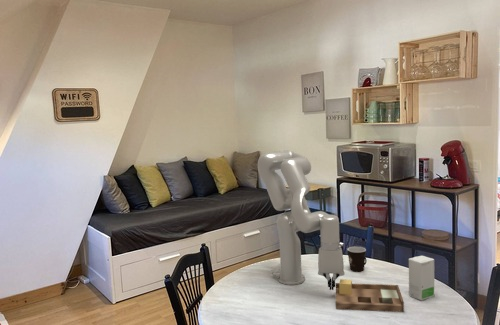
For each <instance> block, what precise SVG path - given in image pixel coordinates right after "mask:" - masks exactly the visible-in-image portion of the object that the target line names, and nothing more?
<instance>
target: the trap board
mask: <svg viewBox="0 0 500 325" xmlns="http://www.w3.org/2000/svg"><path fill="white" fill-rule="evenodd" d="M404 304H405V301H404V298H403V295H402V291H401V290H400V286H399V284H382V283H381V284H373V283H352V292H351V295H345V294H339V282H335V309H336V310H346V311H347V310H349V311H351V310H352V311H373V312H392V313H393V312H394V313H396V312H397V313H404V312H405V311H404V310H405V309H404V308H405V305H404Z"/></svg>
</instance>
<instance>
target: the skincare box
mask: <svg viewBox="0 0 500 325" xmlns="http://www.w3.org/2000/svg"><path fill="white" fill-rule="evenodd" d="M408 296H410V297H411V298H414V299H416V300H419V301H425V300H427V299H430V298H435V259H434V258H432V257H429V256H425V255H419V256H414V257H411V258H408Z"/></svg>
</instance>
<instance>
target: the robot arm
mask: <svg viewBox="0 0 500 325" xmlns="http://www.w3.org/2000/svg"><path fill="white" fill-rule="evenodd" d="M277 170H280V172H281V173H282V176H283V178H284V179H285V182H284V179H283V178H282V176H281V175H280V174H278V172H276V171H277ZM257 171H258V174H259V176H260V178H261V180H262V182H263V183H264V185H265V187H266V190H267V193H268V196H269V199H270V202H271V204H272V206H273V208H274V209H275V210H276V211H277V212H282V211H286V212H283V213H281V214H279V215H278V216H277V219H276V222H275V223H276V229H277V233H278V240H279V243H278V244H279V259H280V260H279V261H280V264H279V265H280V269H278V270H277V269H271V272H270V273H271V275H272V276H274V277H277V281H278V282H279V283H281V284H283V285H287V286H294V285H301V284H302V283H304V282H306V276H305V275H304V274H303V273H302V250H301V249H302V248H301V247H302V246H301V240H300V238H299V236H298V234H297V233H298V232H302V233H304V234H308V233H312V232H313V233H314V232H316V231H319V232H320V247H319V248H318V254H317V255H318V261H317V262H318V263H317V264H318V266H317V267H318V268H317V269H318V271H317V275H318V276H322V277H324V278H325V279H326V281H327V288H329V291H331V290H332V291H334V289H335V288H336V280H338V278H339V277H342V276H343V277H344V276H345V270H344V269H345V268H344V266H345V265H344V254H343V249H342V247H344V242H341V241H340V221H339V220H340V219H339V217H338V216H337V215H335V214H329V213H327V212H326V211H322V210H321V211H320V210H319V211H314V212H311V209H310V208H309V206H308V202H307V199H306V197H305V196H306V195H307V194H308V193H309V192H310V191H311V185H310V183H309V182H308V180H307V177H306V175H308V174H310V173H311V171H312V165H311V162H310V160H309V159H308V158H307V157H305V156H304V155H301V154H300V153H297V152H294V151H291V150H288V149H287V150H278V151H269V152H266V153H263V154H262V155H260V156H259V158H258V159H257ZM285 183H286V184H287V186H288V188H287V187H286V185H285ZM287 210H290V211H287ZM330 274H332V277H331V276H330Z"/></svg>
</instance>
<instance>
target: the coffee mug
mask: <svg viewBox="0 0 500 325" xmlns="http://www.w3.org/2000/svg"><path fill="white" fill-rule="evenodd" d="M366 252H367V249H366V248H365V247H363V246H349V247H348V248H347V255H348V257H347V258H348V262H349V263H348V264H349V270H350V271H351V272H353V273H363V272H364V271H365V266H366V265H367V257H366V254H367V253H366Z"/></svg>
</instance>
